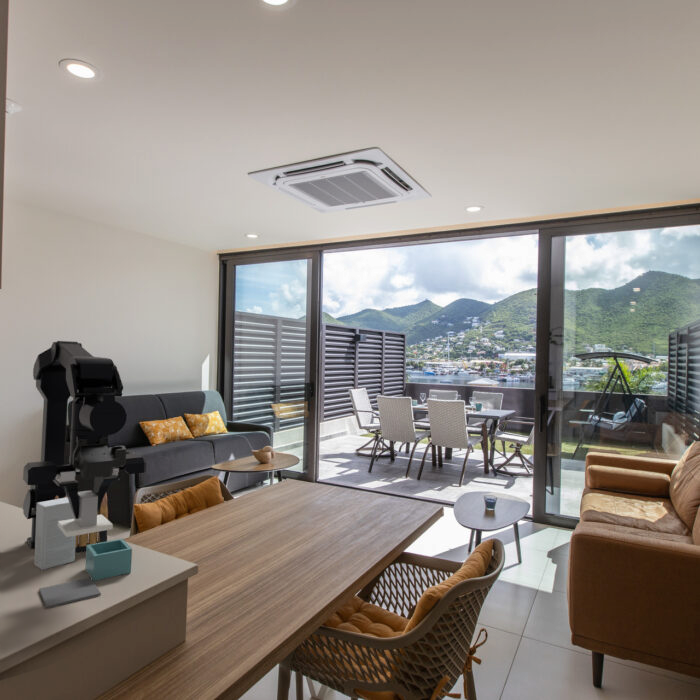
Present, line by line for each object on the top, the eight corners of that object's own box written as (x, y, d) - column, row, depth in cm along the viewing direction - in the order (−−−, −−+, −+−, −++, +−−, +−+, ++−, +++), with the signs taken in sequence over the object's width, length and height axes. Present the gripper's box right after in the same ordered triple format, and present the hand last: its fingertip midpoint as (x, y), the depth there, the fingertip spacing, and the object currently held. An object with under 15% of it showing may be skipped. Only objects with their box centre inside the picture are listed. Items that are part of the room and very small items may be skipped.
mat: (39, 590, 86) (39, 588, 86) (90, 579, 91) (90, 577, 91) (46, 608, 81) (46, 606, 81) (100, 595, 86) (100, 593, 86)
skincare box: (66, 555, 102) (69, 496, 102) (75, 561, 99) (78, 500, 99) (32, 564, 97) (35, 502, 97) (41, 570, 94) (44, 506, 95)
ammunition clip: (48, 556, 101) (51, 497, 101) (48, 553, 102) (51, 494, 103) (107, 549, 106) (109, 492, 106) (106, 546, 108) (109, 489, 108)
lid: (57, 525, 89) (59, 492, 89) (101, 518, 94) (103, 487, 94) (66, 537, 83) (68, 502, 84) (112, 529, 88) (114, 495, 88)
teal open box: (85, 568, 96) (86, 545, 96) (121, 561, 100) (122, 538, 100) (93, 581, 91) (94, 556, 91) (130, 572, 95) (132, 548, 95)
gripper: (35, 438, 77) (30, 540, 76) (158, 430, 89) (154, 519, 88) (24, 429, 85) (20, 522, 85) (138, 423, 97) (134, 504, 97)
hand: (85, 517), depth 89 cm, fingers closed on lid, 2 cm apart
